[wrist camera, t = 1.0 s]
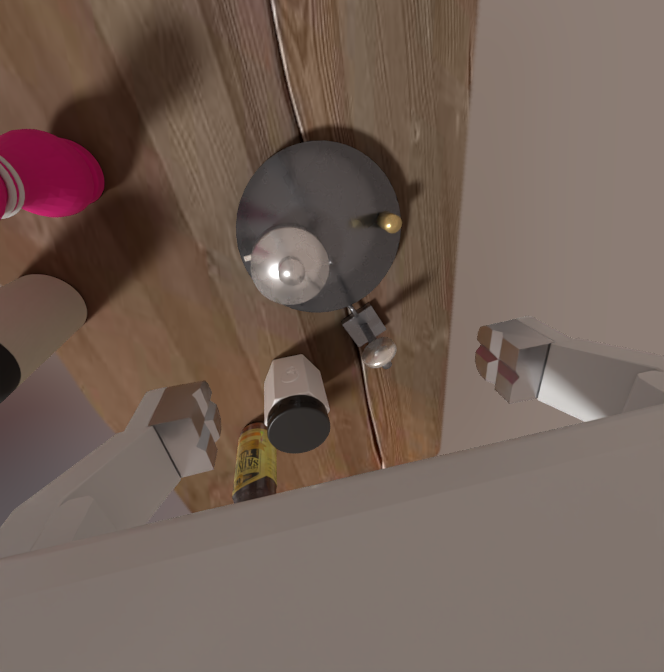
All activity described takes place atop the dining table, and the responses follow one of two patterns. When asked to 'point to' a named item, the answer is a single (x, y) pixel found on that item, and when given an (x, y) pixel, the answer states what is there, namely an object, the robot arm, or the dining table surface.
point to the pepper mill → (46, 175)
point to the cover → (289, 264)
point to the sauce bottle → (254, 465)
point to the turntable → (326, 215)
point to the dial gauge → (370, 336)
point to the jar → (295, 405)
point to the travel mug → (34, 325)
